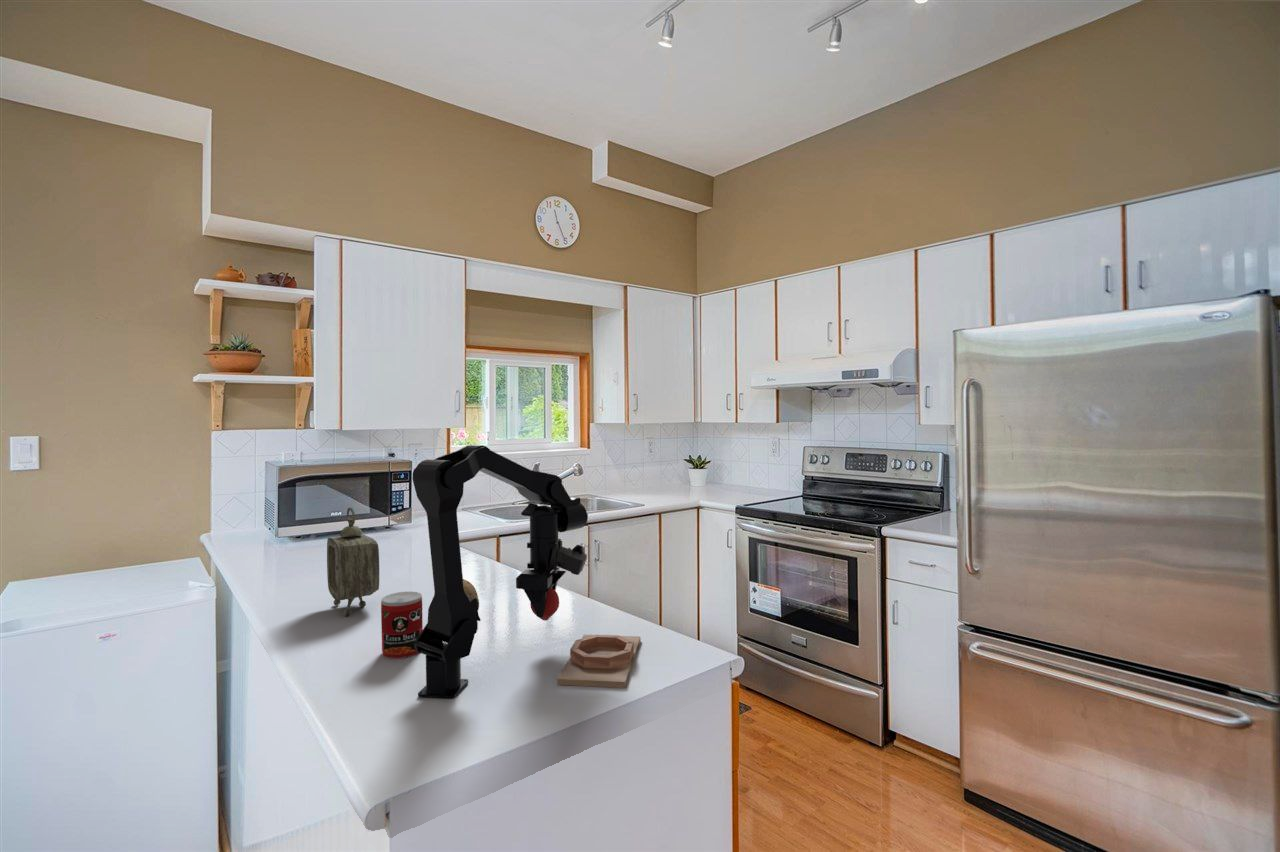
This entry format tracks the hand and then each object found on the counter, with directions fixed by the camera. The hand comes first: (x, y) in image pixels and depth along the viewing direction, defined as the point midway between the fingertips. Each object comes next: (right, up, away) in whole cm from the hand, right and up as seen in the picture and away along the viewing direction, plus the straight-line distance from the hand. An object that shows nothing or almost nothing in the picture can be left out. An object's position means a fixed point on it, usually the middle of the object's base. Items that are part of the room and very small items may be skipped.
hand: (544, 612), depth 126 cm
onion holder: (+12, -7, -7) cm, 16 cm away
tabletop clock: (-51, -7, +26) cm, 58 cm away
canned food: (-28, -8, -2) cm, 29 cm away
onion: (0, -2, 0) cm, 2 cm away
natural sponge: (-22, -7, +16) cm, 28 cm away
